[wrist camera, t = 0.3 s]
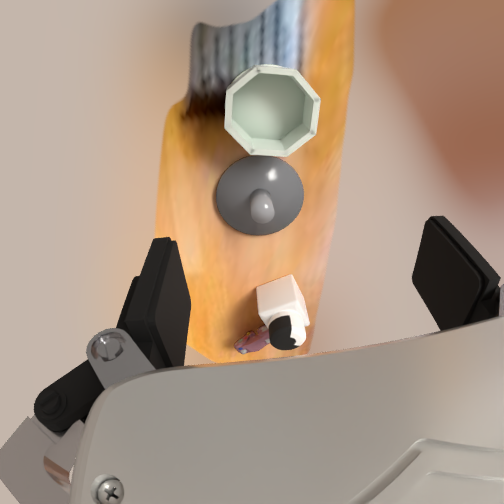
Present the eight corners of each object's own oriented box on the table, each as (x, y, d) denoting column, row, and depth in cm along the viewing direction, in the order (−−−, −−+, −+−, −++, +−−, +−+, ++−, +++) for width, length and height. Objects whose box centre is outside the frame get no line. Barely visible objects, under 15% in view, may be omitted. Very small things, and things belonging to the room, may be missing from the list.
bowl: (227, 61, 37) (226, 63, 32) (314, 69, 37) (325, 72, 33) (223, 141, 43) (221, 155, 38) (304, 146, 44) (313, 160, 39)
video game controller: (275, 313, 66) (269, 328, 59) (286, 330, 66) (281, 347, 60) (236, 332, 69) (227, 347, 62) (247, 348, 69) (239, 365, 63)
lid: (217, 152, 44) (215, 166, 40) (307, 157, 45) (317, 172, 41) (216, 230, 52) (214, 251, 47) (296, 232, 53) (302, 253, 48)
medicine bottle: (270, 310, 63) (276, 359, 53) (255, 286, 59) (259, 336, 49) (304, 298, 62) (315, 346, 52) (291, 272, 58) (302, 322, 48)
